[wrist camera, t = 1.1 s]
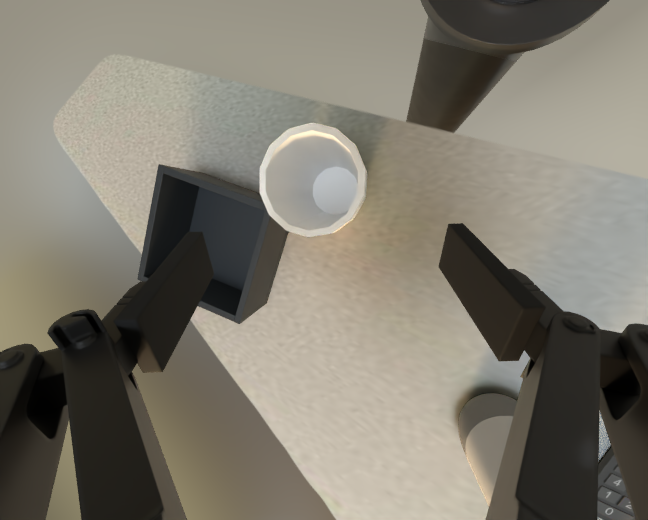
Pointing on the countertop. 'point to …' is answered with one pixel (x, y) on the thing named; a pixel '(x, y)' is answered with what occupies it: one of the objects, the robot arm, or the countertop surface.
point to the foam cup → (313, 180)
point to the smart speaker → (486, 436)
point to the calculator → (612, 491)
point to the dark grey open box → (216, 238)
